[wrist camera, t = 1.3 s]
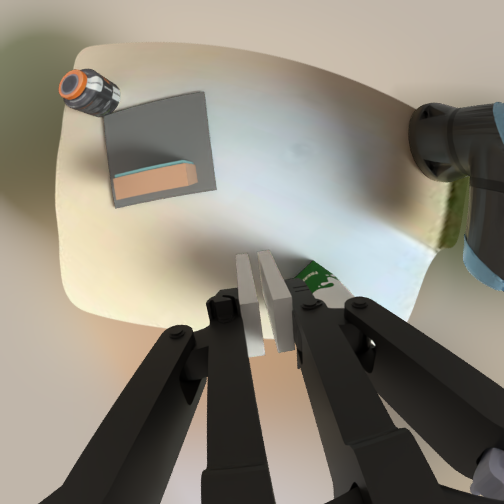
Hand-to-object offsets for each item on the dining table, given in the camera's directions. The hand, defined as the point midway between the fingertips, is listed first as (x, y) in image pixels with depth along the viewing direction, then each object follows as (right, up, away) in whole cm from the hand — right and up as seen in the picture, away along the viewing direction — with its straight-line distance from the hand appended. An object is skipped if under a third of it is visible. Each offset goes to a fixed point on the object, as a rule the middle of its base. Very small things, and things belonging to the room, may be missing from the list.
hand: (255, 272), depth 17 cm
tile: (-13, +12, +20) cm, 27 cm away
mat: (-14, +16, +19) cm, 29 cm away
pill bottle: (-23, +25, +16) cm, 38 cm away
